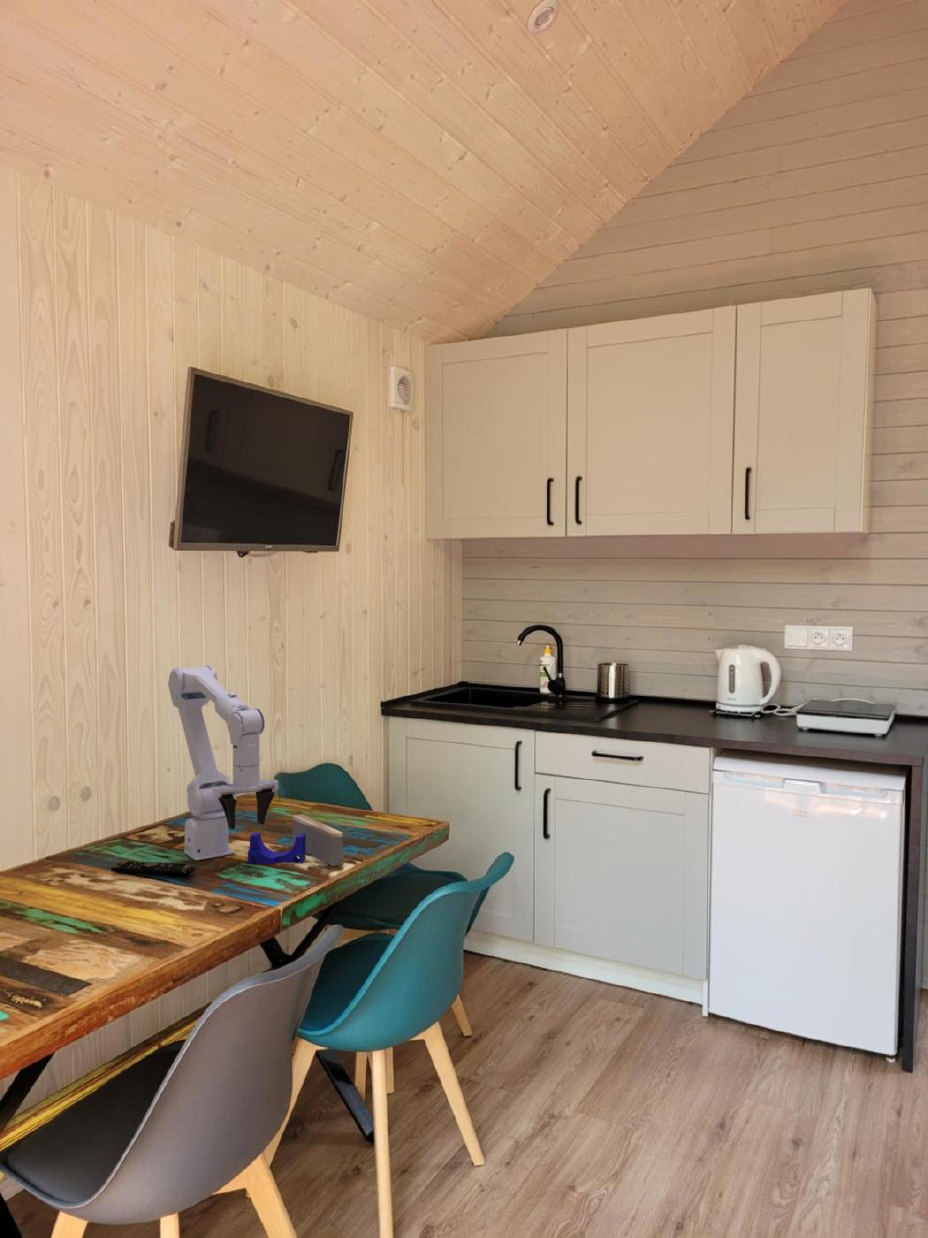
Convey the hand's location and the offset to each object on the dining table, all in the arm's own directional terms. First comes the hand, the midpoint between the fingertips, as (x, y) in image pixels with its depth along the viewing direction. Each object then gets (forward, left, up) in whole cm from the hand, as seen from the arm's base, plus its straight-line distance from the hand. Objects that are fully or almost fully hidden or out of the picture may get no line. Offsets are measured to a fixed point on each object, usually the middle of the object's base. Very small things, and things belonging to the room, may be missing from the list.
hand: (246, 825), depth 206 cm
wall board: (+17, 0, -9) cm, 20 cm away
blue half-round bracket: (+8, +1, -10) cm, 12 cm away
